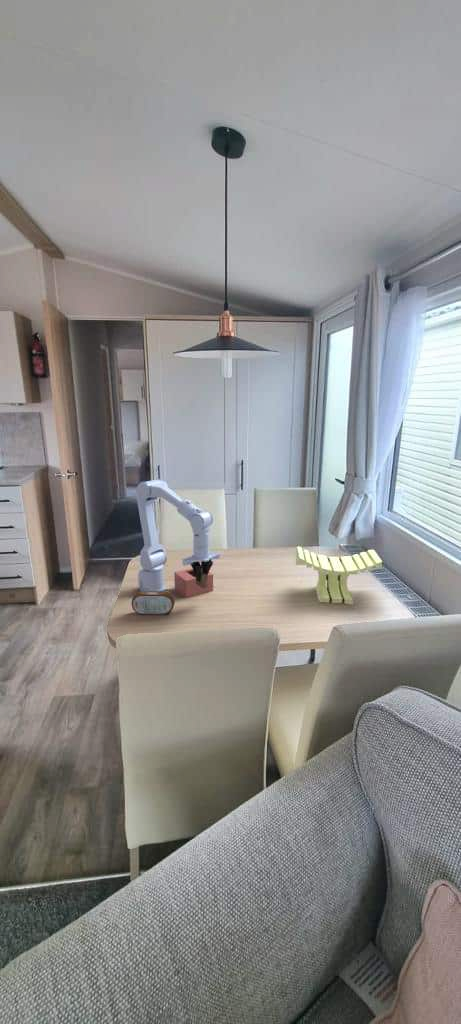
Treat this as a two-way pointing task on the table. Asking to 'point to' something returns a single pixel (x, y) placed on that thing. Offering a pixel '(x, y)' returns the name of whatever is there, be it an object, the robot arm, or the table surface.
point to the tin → (153, 602)
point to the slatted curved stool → (337, 572)
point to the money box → (191, 583)
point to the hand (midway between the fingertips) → (201, 579)
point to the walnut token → (202, 580)
